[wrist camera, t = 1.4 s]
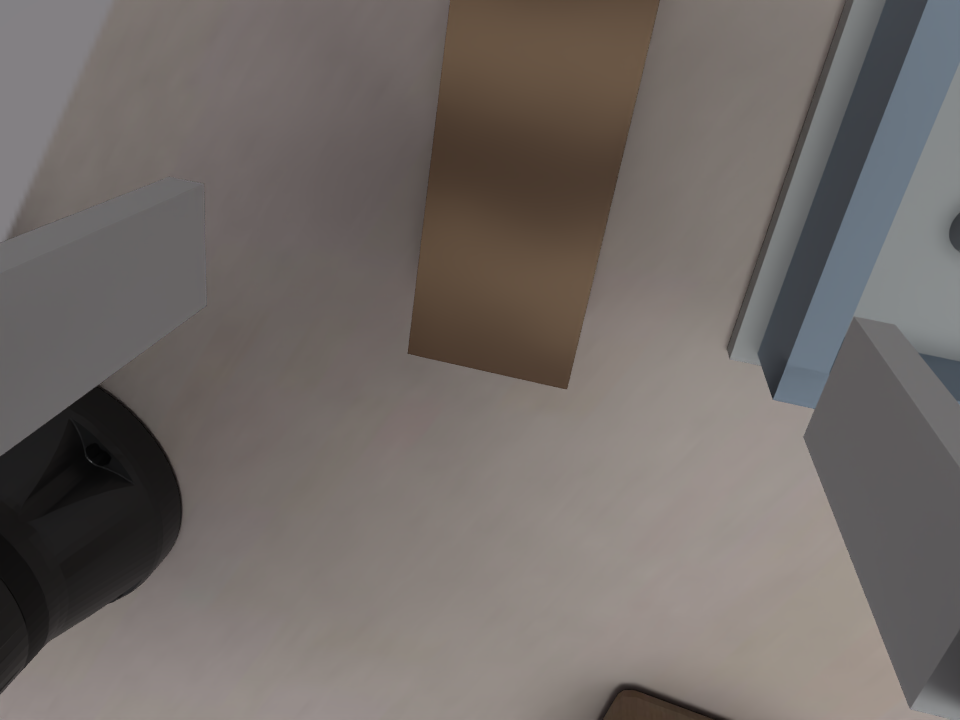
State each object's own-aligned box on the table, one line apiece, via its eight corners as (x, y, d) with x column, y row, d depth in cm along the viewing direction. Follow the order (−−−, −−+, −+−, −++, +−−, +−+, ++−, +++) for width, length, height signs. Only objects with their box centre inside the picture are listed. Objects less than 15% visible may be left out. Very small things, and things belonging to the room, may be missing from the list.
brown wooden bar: (579, 315, 33) (566, 389, 27) (449, 288, 34) (407, 353, 28) (669, -68, 26) (680, -88, 20) (504, -95, 27) (464, -122, 21)
